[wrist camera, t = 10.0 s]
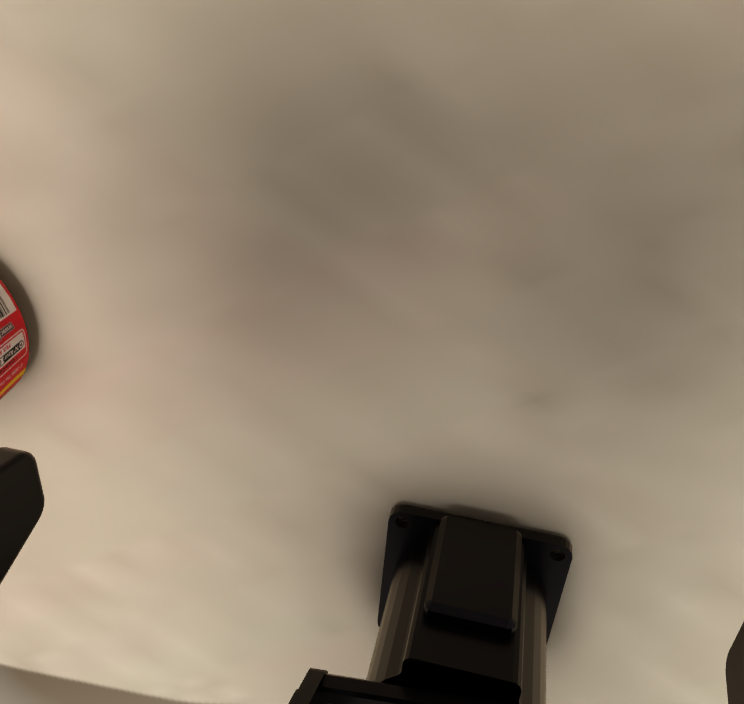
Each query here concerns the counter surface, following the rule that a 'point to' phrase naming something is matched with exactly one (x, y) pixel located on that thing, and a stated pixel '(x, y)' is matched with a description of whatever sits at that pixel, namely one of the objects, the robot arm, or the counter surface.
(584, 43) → the counter surface
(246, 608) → the counter surface
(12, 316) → the soda can
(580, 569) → the counter surface
